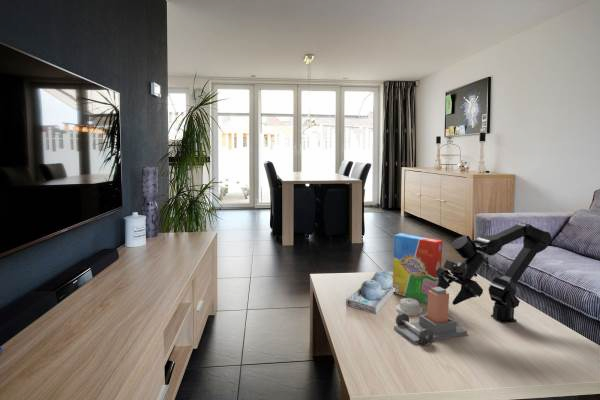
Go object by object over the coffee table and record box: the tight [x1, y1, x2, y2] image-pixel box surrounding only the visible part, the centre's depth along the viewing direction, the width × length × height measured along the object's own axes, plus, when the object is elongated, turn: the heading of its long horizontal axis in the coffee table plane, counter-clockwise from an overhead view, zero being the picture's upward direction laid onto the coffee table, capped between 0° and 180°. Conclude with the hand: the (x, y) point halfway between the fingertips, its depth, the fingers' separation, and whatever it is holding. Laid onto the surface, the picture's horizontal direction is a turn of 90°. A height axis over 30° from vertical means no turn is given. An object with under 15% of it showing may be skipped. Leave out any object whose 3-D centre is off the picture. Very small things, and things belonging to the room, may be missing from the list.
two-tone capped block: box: [426, 287, 450, 324], centre depth 139 cm, size 5×5×14 cm
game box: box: [392, 232, 444, 305], centre depth 171 cm, size 21×6×27 cm, turn 42°
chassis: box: [393, 313, 468, 345], centre depth 138 cm, size 22×15×5 cm
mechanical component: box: [395, 297, 423, 316], centre depth 157 cm, size 10×4×10 cm
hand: (444, 299), depth 139 cm, fingers open, 9 cm apart
